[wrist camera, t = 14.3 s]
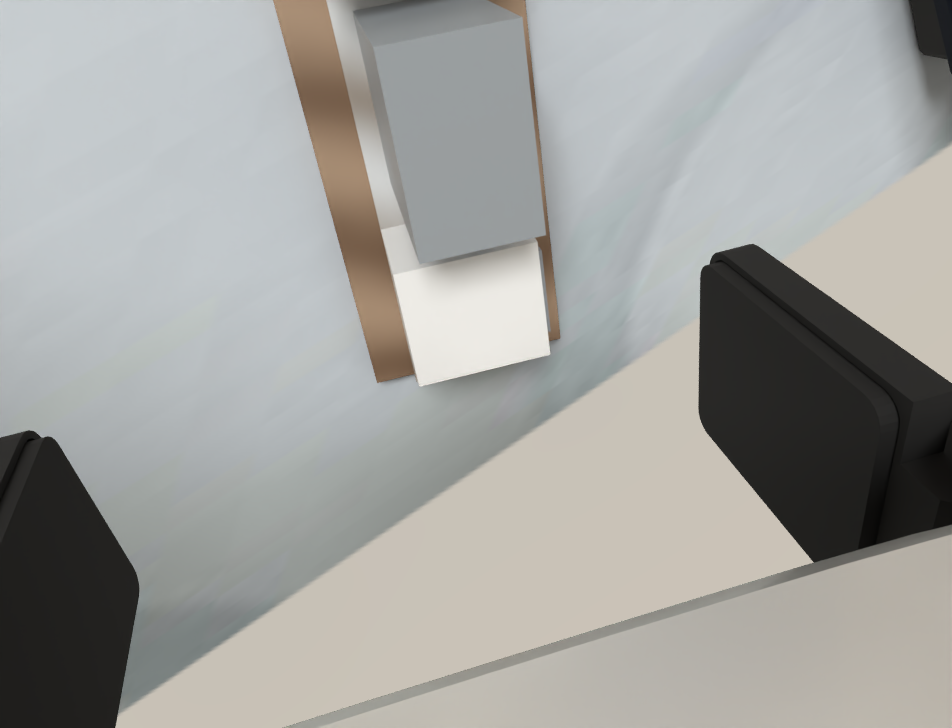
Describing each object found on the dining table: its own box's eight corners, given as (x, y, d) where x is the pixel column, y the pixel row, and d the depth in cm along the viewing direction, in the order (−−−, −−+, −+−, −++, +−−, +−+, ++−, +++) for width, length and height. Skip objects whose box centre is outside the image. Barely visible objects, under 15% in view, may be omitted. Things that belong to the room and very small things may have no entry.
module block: (352, 10, 29) (373, 47, 22) (468, -12, 30) (529, 16, 22) (390, 182, 33) (419, 264, 26) (493, 160, 33) (551, 234, 26)
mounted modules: (272, -226, 25) (269, -252, 21) (455, -256, 26) (487, -287, 22) (405, 332, 37) (419, 386, 33) (527, 303, 38) (556, 353, 33)
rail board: (188, -320, 25) (180, -336, 23) (478, -364, 26) (491, -383, 24) (375, 370, 40) (378, 391, 38) (553, 327, 41) (564, 345, 39)
